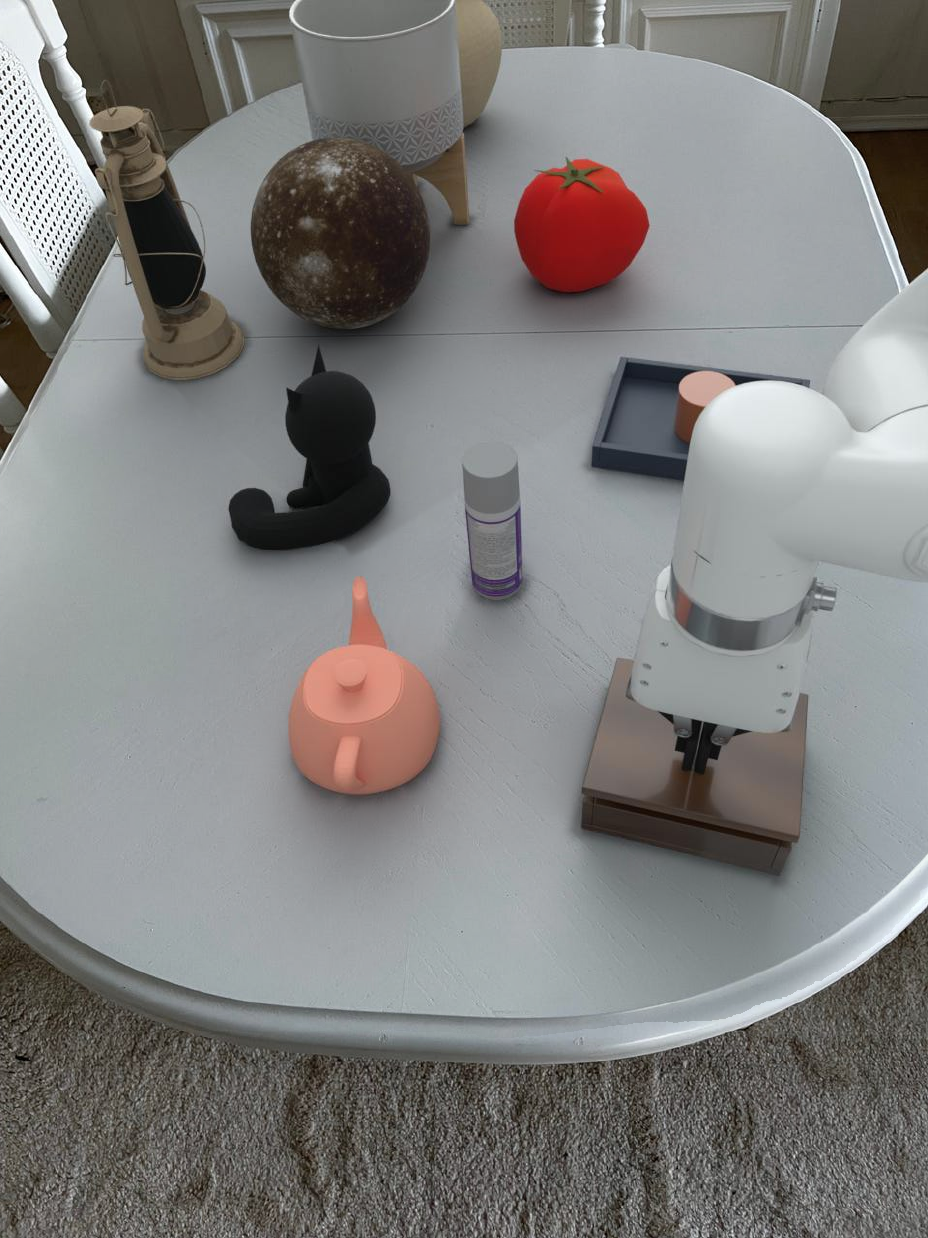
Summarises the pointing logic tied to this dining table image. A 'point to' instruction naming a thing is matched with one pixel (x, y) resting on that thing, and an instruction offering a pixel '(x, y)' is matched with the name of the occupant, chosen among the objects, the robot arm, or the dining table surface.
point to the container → (493, 518)
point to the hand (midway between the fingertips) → (695, 754)
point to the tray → (651, 417)
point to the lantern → (161, 251)
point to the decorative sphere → (340, 233)
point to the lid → (727, 792)
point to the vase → (477, 55)
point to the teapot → (363, 712)
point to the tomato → (579, 226)
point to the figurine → (320, 468)
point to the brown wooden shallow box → (685, 835)
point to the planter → (388, 83)
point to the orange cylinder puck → (696, 399)
